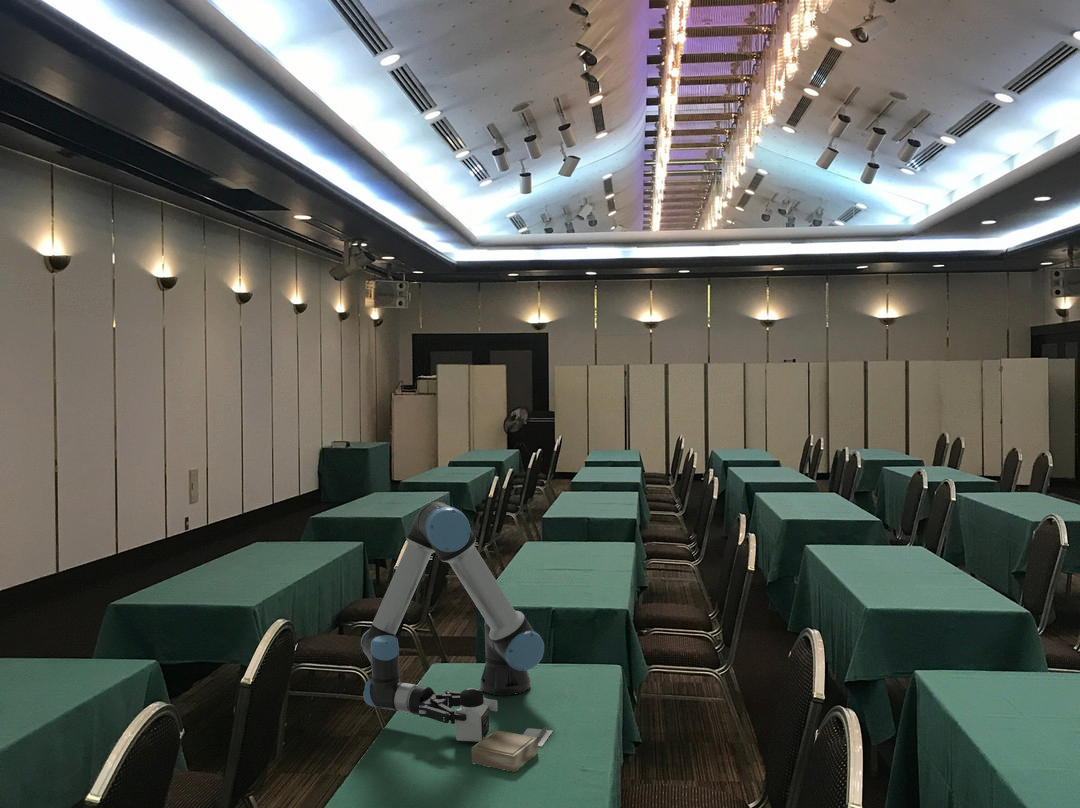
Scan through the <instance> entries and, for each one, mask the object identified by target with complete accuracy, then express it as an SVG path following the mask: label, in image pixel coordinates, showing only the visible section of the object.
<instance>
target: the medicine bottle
mask: <svg viewBox="0 0 1080 808" xmlns="http://www.w3.org/2000/svg"><path fill="white" fill-rule="evenodd" d="M460 692H461V693H460V706H459V709H460V710H466V711H471V712H477V713H479V724H473V723H468V722H462V721H457V720H455V736H456V737H455V740H456V741H460V742H476V743H477V742H478V743H479V742H480V741H482V740H483V739H484V738H486V737H487V736H488V734H489V732H490V710H489V706H488V705H484V701H483V698H484V692H483V691H482V690H481V689H479V688H473V687H470V688H466V689H464V690H462V691H460Z"/></svg>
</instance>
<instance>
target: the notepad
mask: <svg viewBox="0 0 1080 808" xmlns="http://www.w3.org/2000/svg"><path fill="white" fill-rule="evenodd" d="M552 732H554V730H549V729H548V728H547V727H543V728H542V729H541V728H529V727H527V728H526V729H525V731H524V732H523V733H522V735H525V736H530V737H536V738H537V743H538V746H540V747H539V748H543V747H544V746H545V744H546V743H547V741H548V740H549V738H550V737H551V736H550V735H553V733H552ZM549 736H550V737H549ZM547 739H548V740H547ZM545 742H546V743H545ZM544 743H545V744H544ZM543 745H544V746H543ZM542 746H543V747H542Z"/></svg>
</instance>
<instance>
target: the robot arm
mask: <svg viewBox="0 0 1080 808" xmlns="http://www.w3.org/2000/svg"><path fill="white" fill-rule="evenodd" d="M405 538H406V542H407V544H406V547H405V549H404V551H403V553H402V556H401V558H400V561H399V563H398V565H397V566H396V570H395V571H394V573H393V576H392V578H391V580H390V583H389V584H388V587H387V589H386V591H385V594H384V596H383V598H382V600H381V603H380V605H379V608H378V610H377V612H376V614H375V616H374V618H373V621H372V622H371V625H370V627H369V629H367V630H366V631H365V632H364V633H363V634H362V636H361V639H360V646H361V650H362V652H363V653H364V656H366V657H367V659H368V660H369V662H370V665H371V678H370V679H368V681H366V683H365V685H364V690H363V692H362V693H363V700H364V702H365V704H367V705H368V706H369V707H370V706H371V707H374V708H377V709H379V710H380V709H381V710H382V709H383V710H388V711H389V710H390V711H395V712H400V713H405V714H406V715H408V714H413V715H416V716H419V717H423V718H428V719H432V720H434V721H437V722H441V723H444V724H449V723H450V725H451V724H452V725H456V720H457V721H462V722H468V723H473V724H479V713H477V712H471V711H466V710H460V708H457V709H453V707H461V706H460V693H461V692H462V691H457V690H456V691H455V690H450V689H446V690H445V693H440V692H439V693H435V691H434V690H433V688H431V687H430V686H425V685H421V684H420V685H418V684H415V683H407V682H402V681H401V679H400V676H401V675H400V647H399V640H398V638H397V636H396V634H397V632H398V630H399V627H400V625H401V623H402V621H403V618H404V617H405V614H406V612H407V610H408V608H409V606H410V603H411V600H412V598H413V596H414V594H415V592H416V589H417V588H418V585H419V583H420V581H421V578H422V576H423V574H424V572H425V570H426V567H427V565H428V563H429V561H430V559H431V556H432V554H434V553H435V554H436V555H437V557H438V559H439V560H440V561H441V562H443V563H448V564H449V566H450V567H451V569H452V570H453V572H454V573H455V574H456V576H457V578H458V580H459V581H460V583H461V585H462V586H463V587H464V589H465V590H466V592H467V594H468V596H469V597H470V598H471V600H472V601H473V603H474V605H475V606H476V608H477V609H478V611H479V613H480V614H481V616H482V617H483V619H484V625H483V626H484V640H485V641H484V643H485V644H484V645H485V646H484V647H485V664H484V668H483V671H482V675H481V678H480V690H481V691H482V692H483V691H484V692H483V693H485V692H486V694H488V693H489V694H488V695H492V694H493V696H510V695H509V694H515V693H519V694H521V693H520V692H522V693H525V692H526V690H527V689H528V690H529V689H530V688H531V677H530V675H529V673H528V670H532V669H533V668H535V667H536V666H538V664H540V663H541V660H542V659H543V656H544V653H545V643H544V640H543V639H542V636H541V635H540V634H539V633H538V632H536V631H535V630H534V629H533V627H532V626H531V624H530V623H529V621H528V619H527V617H526V616H525V614H524V613H523V612H522V611H519V610H515V608H514V607H513V605H512V604H511V602H510V601H509V599H508V597H507V596H506V594H505V592H504V591H503V589H502V588H501V586H500V584H499V583H498V580H496V578H495V576H494V575H493V573H492V571H491V570H490V569H489V566H488V565H487V564H486V562H485V559H483V558H482V555H481V554H480V552H479V550H478V549H477V547H476V541H477V538H476V536H475V534H474V532H473V530H472V529H471V525H470V521H469V519H468V518H467V517H466V515H465V514H464V513H463V512H462V511H461V510H460V509H458V508H456V507H452V506H450V505H449V504H447V503H445V502H442V501H433V502H429V503H427V504H425V505H423V507H421V508H420V509H419V510H418V513H416V515H415V518H414V520H413V523H412V525H411V527H410V529H409V531H408V534H407V535H406V537H405ZM528 690H527V691H528ZM524 691H525V692H524ZM494 694H495V695H494ZM515 695H516V694H515ZM483 701H484V705H488V706H489V711H492V712H497V711H498V710H499V709H498V700H497V699H491V698H485V697H483Z"/></svg>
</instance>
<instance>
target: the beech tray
mask: <svg viewBox="0 0 1080 808" xmlns="http://www.w3.org/2000/svg"><path fill="white" fill-rule="evenodd" d="M538 750H539V747H538V743H537V738H536V737H530V736H525V735H523V734H518V733H514V732H510V731H509V732H508V731H504V730H497V729H495V730H494V731H493V732H491V733H490V734H489V735H488V734H487V735H486V737H485V738H484V739H483V740H482V741H480V742H478V743H477V742H476V744H475V745H473V746H471V764H472V763H475V764H474V765H476V764H480V765H485V766H490V767H494V768H500V769H505V770H508V771H512V772H511V773H513V772H515V771H516V770H517V769H518V770H520V769H521V768H522V767H523V766H524V765H523V764H525V763H526V762H527V761H528V760H529V761H530V759H531V758H532V757H533V758H534V757H536V756H537V755H538V754H539V753H538ZM537 753H538V754H537ZM536 754H537V755H536ZM533 758H532V759H533ZM532 759H531V760H532ZM529 761H528V762H529ZM528 762H527V763H528ZM527 763H526V764H527ZM526 764H525V765H526ZM480 765H479V766H480ZM522 765H523V766H522ZM485 766H484V767H485ZM521 766H522V767H521ZM490 767H489V768H490ZM520 767H521V768H520ZM494 768H493V769H494ZM519 768H520V769H519ZM518 770H517V771H518ZM508 771H507V772H508ZM517 771H516V772H517ZM516 772H515V773H516Z"/></svg>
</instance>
